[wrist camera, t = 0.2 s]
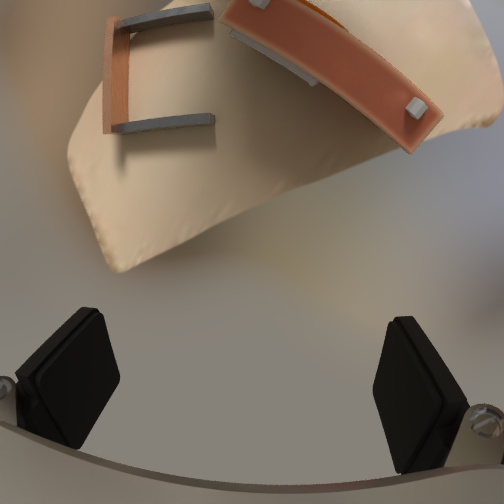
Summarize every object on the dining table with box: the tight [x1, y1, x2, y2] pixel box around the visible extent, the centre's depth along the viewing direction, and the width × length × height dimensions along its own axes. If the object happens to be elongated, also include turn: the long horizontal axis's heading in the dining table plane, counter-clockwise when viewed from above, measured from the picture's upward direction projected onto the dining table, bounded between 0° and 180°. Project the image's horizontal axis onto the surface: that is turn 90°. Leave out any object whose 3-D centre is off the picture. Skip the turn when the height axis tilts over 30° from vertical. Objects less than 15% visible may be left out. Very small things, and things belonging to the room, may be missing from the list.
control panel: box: [218, 0, 444, 154], centre depth 27 cm, size 21×7×15 cm, turn 55°
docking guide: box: [103, 3, 215, 135], centre depth 33 cm, size 16×13×5 cm
